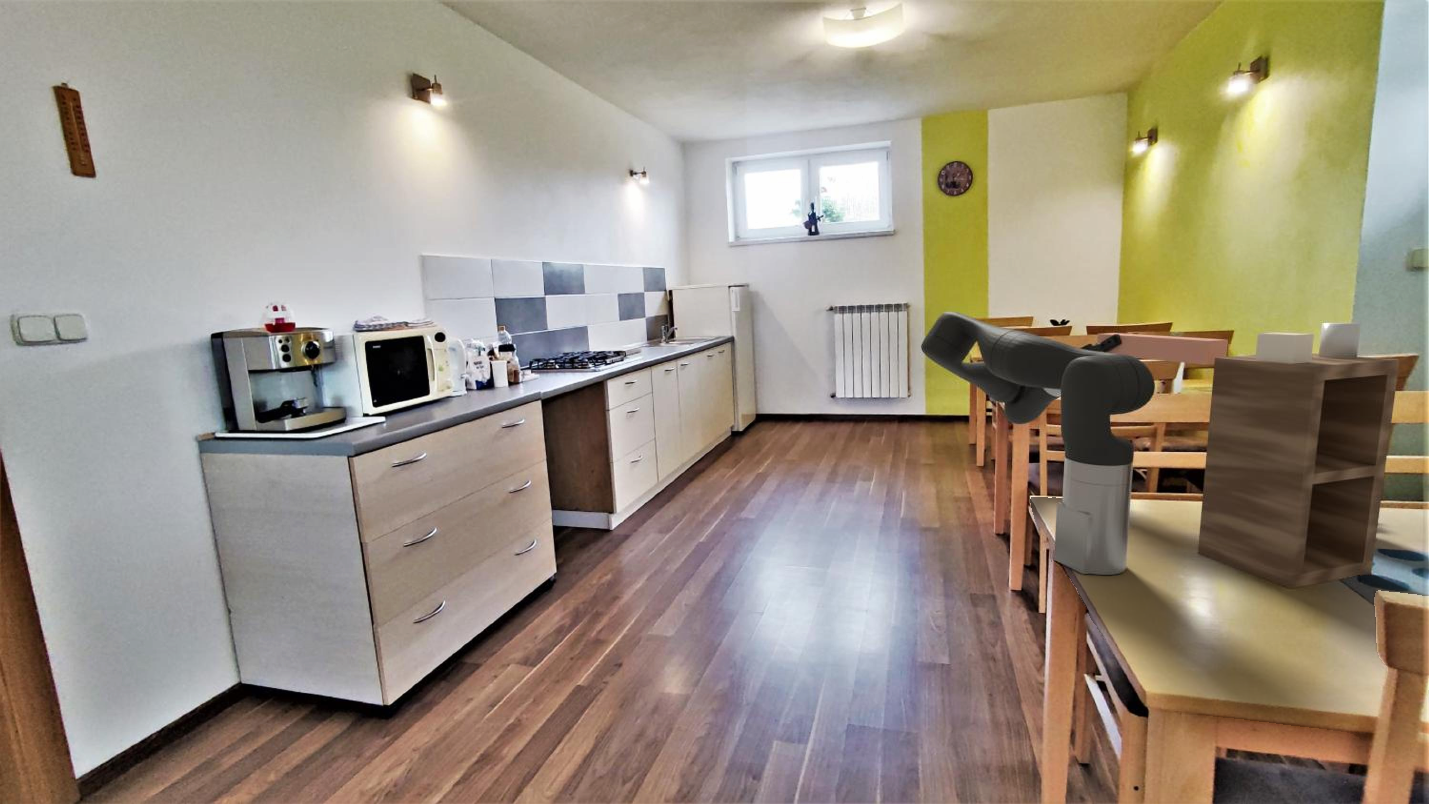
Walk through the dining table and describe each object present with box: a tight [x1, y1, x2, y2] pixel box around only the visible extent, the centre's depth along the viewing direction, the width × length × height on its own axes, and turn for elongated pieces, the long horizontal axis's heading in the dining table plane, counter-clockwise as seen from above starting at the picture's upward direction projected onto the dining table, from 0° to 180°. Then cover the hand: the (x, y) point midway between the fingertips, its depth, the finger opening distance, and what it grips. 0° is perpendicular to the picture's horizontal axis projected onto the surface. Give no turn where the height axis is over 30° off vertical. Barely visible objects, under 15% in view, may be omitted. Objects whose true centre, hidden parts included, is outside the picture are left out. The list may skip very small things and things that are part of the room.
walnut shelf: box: [1197, 352, 1400, 590], centre depth 102 cm, size 16×14×32 cm
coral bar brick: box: [1096, 332, 1229, 366], centre depth 122 cm, size 4×23×4 cm, turn 15°
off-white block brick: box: [1255, 331, 1315, 364], centre depth 96 cm, size 4×5×4 cm
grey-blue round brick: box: [1318, 322, 1362, 359], centre depth 99 cm, size 4×4×5 cm
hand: (1128, 338), depth 128 cm, fingers closed on coral bar brick, 4 cm apart
